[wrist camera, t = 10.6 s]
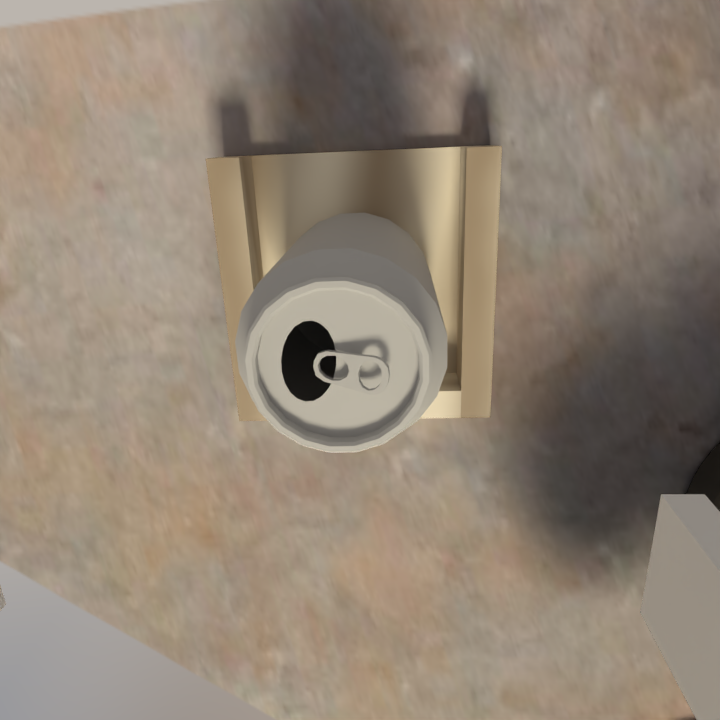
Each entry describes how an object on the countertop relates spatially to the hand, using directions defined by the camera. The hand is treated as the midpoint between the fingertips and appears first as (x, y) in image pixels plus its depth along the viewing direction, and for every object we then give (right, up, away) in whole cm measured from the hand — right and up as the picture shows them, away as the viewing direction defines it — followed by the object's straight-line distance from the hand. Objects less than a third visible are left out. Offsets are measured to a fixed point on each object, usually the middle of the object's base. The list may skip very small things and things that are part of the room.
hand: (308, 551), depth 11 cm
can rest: (+1, +8, +19) cm, 21 cm away
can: (+1, +8, +19) cm, 20 cm away
